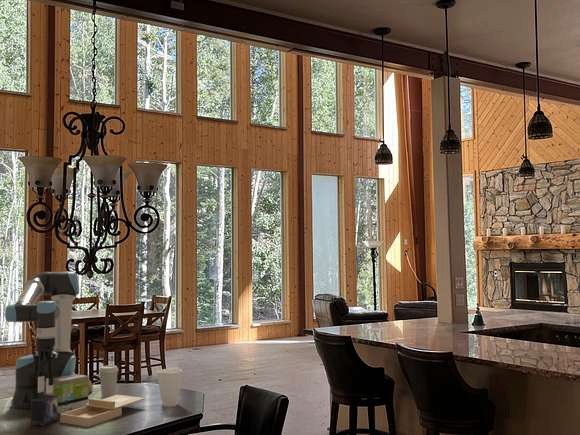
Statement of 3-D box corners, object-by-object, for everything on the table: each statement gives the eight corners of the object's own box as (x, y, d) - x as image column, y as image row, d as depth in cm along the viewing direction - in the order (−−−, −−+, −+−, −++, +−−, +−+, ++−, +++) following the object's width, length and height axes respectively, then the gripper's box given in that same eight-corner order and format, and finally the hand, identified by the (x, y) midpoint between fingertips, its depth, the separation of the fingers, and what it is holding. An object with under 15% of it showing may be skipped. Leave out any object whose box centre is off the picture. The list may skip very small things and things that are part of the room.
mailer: (60, 422, 263) (60, 414, 263) (94, 411, 281) (94, 403, 281) (88, 426, 256) (88, 418, 256) (121, 415, 273) (121, 407, 274)
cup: (168, 400, 299) (168, 367, 300) (187, 403, 293) (187, 369, 294) (151, 406, 289) (151, 371, 290) (171, 409, 283) (171, 374, 284)
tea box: (61, 414, 276) (62, 380, 277) (47, 411, 281) (48, 378, 282) (89, 407, 289) (89, 375, 290) (74, 404, 294) (75, 373, 295)
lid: (85, 405, 276) (85, 398, 276) (117, 395, 295) (117, 389, 295) (114, 409, 269) (114, 402, 269) (144, 399, 287) (144, 392, 287)
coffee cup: (122, 396, 310) (122, 366, 311) (107, 400, 302) (107, 369, 303) (109, 394, 315) (109, 364, 316) (94, 397, 307) (94, 367, 308)
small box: (44, 426, 257) (44, 400, 257) (30, 425, 258) (30, 400, 259) (58, 419, 267) (58, 395, 268) (44, 419, 269) (45, 394, 269)
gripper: (24, 337, 265) (23, 392, 264) (53, 339, 258) (52, 396, 256) (38, 335, 272) (37, 388, 271) (67, 337, 264) (66, 392, 263)
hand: (45, 392), depth 263 cm, fingers open, 4 cm apart
